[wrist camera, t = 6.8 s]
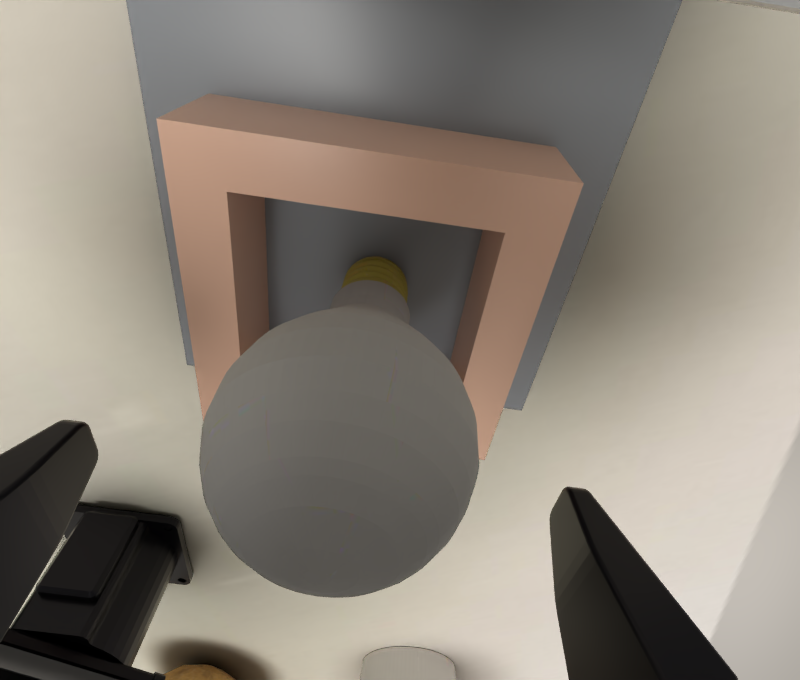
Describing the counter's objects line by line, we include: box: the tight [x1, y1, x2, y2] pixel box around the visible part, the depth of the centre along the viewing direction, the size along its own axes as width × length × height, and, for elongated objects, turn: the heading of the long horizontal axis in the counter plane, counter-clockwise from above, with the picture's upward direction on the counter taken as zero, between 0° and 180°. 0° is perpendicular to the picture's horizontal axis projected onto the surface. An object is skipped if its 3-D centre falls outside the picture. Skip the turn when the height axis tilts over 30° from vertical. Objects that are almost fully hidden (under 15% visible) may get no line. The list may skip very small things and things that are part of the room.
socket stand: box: [126, 0, 800, 460], centre depth 11 cm, size 17×13×10 cm
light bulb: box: [199, 256, 479, 597], centre depth 12 cm, size 5×6×10 cm
